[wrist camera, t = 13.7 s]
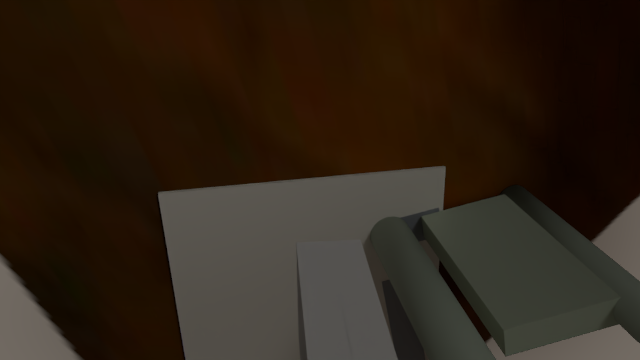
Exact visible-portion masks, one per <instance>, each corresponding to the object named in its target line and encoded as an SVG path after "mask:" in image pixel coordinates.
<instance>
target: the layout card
mask: <svg viewBox="0 0 640 360" xmlns="http://www.w3.org/2000/svg"><path fill="white" fill-rule="evenodd" d="M445 171H446V167H445V166H438V167H427V168H416V169H405V170H394V171H383V172H372V173H361V174H351V175H340V176H329V177H318V178H307V179H296V180H285V181H274V182H263V183H253V184H242V185H231V186H220V187H209V188H198V189H187V190H176V191H165V192H158V198H159V204H160V210H161V216H162V222H163V228H164V234H165V240H166V246H167V252H168V258H169V264H170V270H171V276H172V282H173V288H174V294H175V300H176V306H177V312H178V318H179V324H180V329H181V335H182V341H183V347H184V353H185V359H186V360H300V349H299V336H298V295H297V253H296V243H298V242H318V241H339V240H361V243H362V246H363V249H364V253H365V256H366V259H367V262H368V266H369V269H370V272H371V275H372V278H373V282H374V285H375V288H376V291H377V294H378V298H379V301H380V304H381V307H382V310H383V314H384V317H385V320H386V323H387V326H388V330H389V333H390V336H391V339H392V342H393V346H394V349H395V352H396V355H397V359H398V360H429V359H428V357H427V355H426V353H425V351H424V349H423V347H422V345H421V343H420V341H419V339H418V337H417V334H416V332H415V330H414V328H413V326H412V324H411V322H410V320H409V318H408V316H407V314H406V312H405V310H404V308H403V306H402V304H401V302H400V300H399V298H398V296H397V294H396V292H395V290H394V288H393V286H392V284H391V282H390V280H389V278H388V276H387V274H386V272H385V270H384V268H383V265H382V263H381V261H380V259H379V257H378V255H377V253H376V251H375V249H374V247H373V245H372V243H371V240H370V234H371V230H372V228H373V227H374V225H375V224H376V223H377V222H378V221H380V220H381V219H383V218H386V217H399V218H401V219H402V220H404V221H405V222H406V223H407V224H408V226H409V228H410V229H411V231H412V232H413V234H414V235H415V237H416V238H417V240H418V241H419V243H420V244H421V246H422V247H423V249H424V250H425V252H426V253H427V255H428V257H429V258H430V260H431V261H432V263H433V264H434V266H435V267H436V269H437V270H438V272H439V258H438V257H437V255H436V254H435V252H434V251H433V249H432V248H431V246H430V245H429V243H428V242H427V241H426V239H425V238H424V234H423V227H422V220H421V216H424V215H428V214H431V213H435V212H439V211H443V200H444V185H445Z"/></svg>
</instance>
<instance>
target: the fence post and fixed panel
mask: <svg viewBox="0 0 640 360" xmlns="http://www.w3.org/2000/svg"><path fill="white" fill-rule="evenodd" d="M421 220H422V227H423V234H424V238H425V239H426V241H427V242H428V243H429V245H430V246H431V248H432V249H433V251H434V252H435V254H436V255H437V257H438V258H439V260H440V261H441V262H442V264H443V265H444V267H445V268H446V270H447V271H448V273H449V274H450V276H451V277H452V279H453V280H454V281H455V283H456V284H457V286H458V287H459V289H460V290H461V292H462V293H463V295H464V296H465V298H466V299H467V301H468V302H469V303H470V305H471V306H472V308H473V309H474V311H475V312H476V314H477V315H478V317H479V318H480V320H481V321H482V322H483V324H484V325H485V327H486V328H487V330H488V331H489V333H490V334H491V336H492V337H493V339H494V340H495V341H496V343H497V344H498V346H499V347H500V349H501V350H502V352H503V353H504V354H505V356H509V355H512V354H516V353H519V352H523V351H526V350H530V349H533V348H537V347H540V346H544V345H547V344H551V343H554V342H558V341H561V340H565V339H568V338H572V337H575V336H579V335H582V334H586V333H590V332H593V331H596V330H600V329H604V328H607V327H611V326H614V325H618V324H620V325H621V326H622V327H623V328H624V329H625V330H626V331H627V332H628V333H629V334H630V335H631V336H632V337H633V338H634V339H635V340H637V341H638V342H639V343H640V281H639V280H637V279H636V278H635V277H634V276H632V275H631V274H630V273H629V272H627V271H626V270H625V269H624V268H622V267H621V266H620V265H619V264H618V263H616V262H615V261H614V260H613V259H611V258H610V257H609V256H608V255H606V254H605V253H604V252H603V251H601V250H600V249H599V248H598V247H596V246H595V245H594V244H593V243H592V242H590V241H589V240H588V239H587V238H585V237H584V236H583V235H582V234H580V233H579V232H578V231H577V230H576V229H574V228H573V227H572V226H571V225H569V224H568V223H567V222H566V221H564V220H563V219H562V218H561V217H559V216H558V215H557V214H556V213H554V212H553V211H552V210H551V209H550V208H548V207H547V206H546V205H545V204H543V203H542V202H541V201H540V200H538V199H537V198H536V197H535V196H533V195H532V194H531V193H530V192H529V191H527V190H526V189H525V188H524V187H522V186H519V185H513V186H510V187H508V188H506V189H505V190H504V191H503V192H502V193H501V194H500V195H499V196H496V197H492V198H488V199H484V200H480V201H477V202H473V203H469V204H465V205H462V206H458V207H454V208H450V209H447V210H443V211H439V212H435V213H431V214H428V215H424V216H421ZM370 240H371V243H372V245H373V247H374V249H375V251H376V253H377V255H378V257H379V259H380V261H381V263H382V265H383V268H384V270H385V272H386V274H387V276H388V278H389V280H390V282H391V284H392V286H393V288H394V290H395V292H396V294H397V296H398V298H399V300H400V302H401V304H402V306H403V308H404V310H405V312H406V314H407V316H408V318H409V320H410V322H411V324H412V326H413V328H414V330H415V332H416V334H417V337H418V339H419V341H420V343H421V345H422V347H423V349H424V351H425V353H426V355H427V357H428V359H429V360H496V359H495V357H494V356H493V354H492V353H491V351H490V350H489V348H488V347H487V345H486V343H485V342H484V340H483V339H482V337H481V336H480V334H479V333H478V331H477V330H476V328H475V327H474V325H473V324H472V322H471V321H470V319H469V318H468V316H467V315H466V313H465V311H464V310H463V308H462V307H461V305H460V304H459V302H458V301H457V299H456V298H455V296H454V295H453V293H452V292H451V290H450V289H449V287H448V286H447V284H446V282H445V281H444V279H443V278H442V276H441V275H440V273H439V272H438V270H437V269H436V267H435V266H434V264H433V263H432V261H431V260H430V258H429V257H428V255H427V253H426V252H425V250H424V249H423V247H422V246H421V244H420V243H419V241H418V240H417V238H416V237H415V235H414V234H413V232H412V231H411V229H410V228H409V226H408V224H407V223H406V222H405V221H404V220H402V219H401V218H399V217H386V218H383V219H381V220H380V221H378V222H377V223H376V224H375V225H374V227H373V228H372V230H371V234H370Z"/></svg>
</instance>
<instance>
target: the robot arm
mask: <svg viewBox="0 0 640 360" xmlns="http://www.w3.org/2000/svg"><path fill="white" fill-rule="evenodd" d="M296 253H297V295H298V336H299V349H300V360H398V359H397V355H396V352H395V349H394V346H393V342H392V339H391V336H390V333H389V330H388V326H387V323H386V320H385V317H384V314H383V310H382V307H381V304H380V301H379V298H378V294H377V291H376V288H375V285H374V282H373V278H372V275H371V272H370V269H369V266H368V262H367V259H366V256H365V253H364V249H363V246H362V243H361V240H339V241H318V242H298V243H296Z"/></svg>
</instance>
